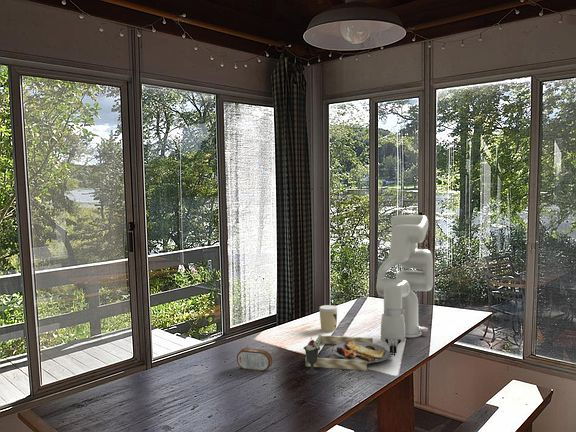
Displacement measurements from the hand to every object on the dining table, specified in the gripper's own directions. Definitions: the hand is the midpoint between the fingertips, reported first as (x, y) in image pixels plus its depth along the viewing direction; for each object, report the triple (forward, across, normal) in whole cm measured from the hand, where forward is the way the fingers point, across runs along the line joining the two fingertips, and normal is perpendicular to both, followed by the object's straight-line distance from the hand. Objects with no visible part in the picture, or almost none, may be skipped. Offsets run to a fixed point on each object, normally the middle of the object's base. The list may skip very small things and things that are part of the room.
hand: (393, 354), depth 207 cm
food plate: (+2, +14, 0) cm, 14 cm away
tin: (+3, +55, +21) cm, 59 cm away
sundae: (+3, +31, +21) cm, 38 cm away
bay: (+2, +23, -1) cm, 23 cm away
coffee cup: (+2, +33, -38) cm, 50 cm away
